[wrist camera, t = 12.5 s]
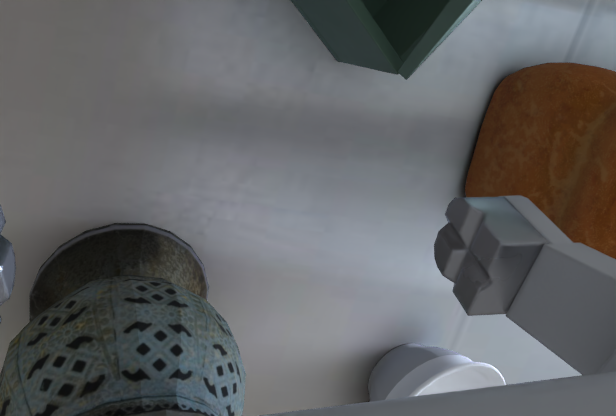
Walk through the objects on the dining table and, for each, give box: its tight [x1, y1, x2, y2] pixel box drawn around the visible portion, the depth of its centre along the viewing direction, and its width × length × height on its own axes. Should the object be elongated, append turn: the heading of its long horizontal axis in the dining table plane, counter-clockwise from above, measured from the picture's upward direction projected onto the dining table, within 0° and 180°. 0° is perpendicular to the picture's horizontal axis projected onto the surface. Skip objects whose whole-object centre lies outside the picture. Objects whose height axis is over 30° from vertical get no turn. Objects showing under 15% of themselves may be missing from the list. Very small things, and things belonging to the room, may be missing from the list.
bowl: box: [368, 343, 506, 402], centre depth 53 cm, size 16×16×8 cm
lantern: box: [0, 223, 246, 416], centre depth 28 cm, size 14×14×25 cm
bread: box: [465, 63, 616, 259], centre depth 45 cm, size 18×21×17 cm
